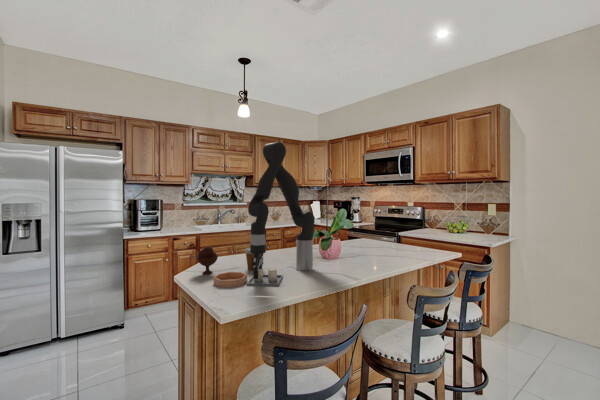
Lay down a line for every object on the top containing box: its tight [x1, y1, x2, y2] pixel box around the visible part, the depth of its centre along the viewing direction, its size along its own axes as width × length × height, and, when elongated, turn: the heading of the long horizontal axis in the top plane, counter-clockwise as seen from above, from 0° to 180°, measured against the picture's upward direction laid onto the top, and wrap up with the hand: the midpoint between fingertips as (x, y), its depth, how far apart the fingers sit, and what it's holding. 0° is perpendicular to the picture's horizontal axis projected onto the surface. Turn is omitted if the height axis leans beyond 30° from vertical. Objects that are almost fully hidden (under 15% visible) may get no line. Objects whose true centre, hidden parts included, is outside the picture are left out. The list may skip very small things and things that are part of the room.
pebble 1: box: [254, 268, 264, 282], centre depth 146 cm, size 4×4×6 cm
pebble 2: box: [267, 268, 278, 283], centre depth 145 cm, size 4×4×6 cm
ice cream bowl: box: [196, 245, 219, 276], centre depth 161 cm, size 11×11×15 cm
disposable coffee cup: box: [244, 247, 256, 271], centre depth 169 cm, size 10×10×12 cm
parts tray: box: [245, 274, 284, 287], centre depth 146 cm, size 15×15×2 cm
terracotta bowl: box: [213, 271, 248, 288], centre depth 144 cm, size 15×15×4 cm
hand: (257, 276), depth 146 cm, fingers open, 8 cm apart
